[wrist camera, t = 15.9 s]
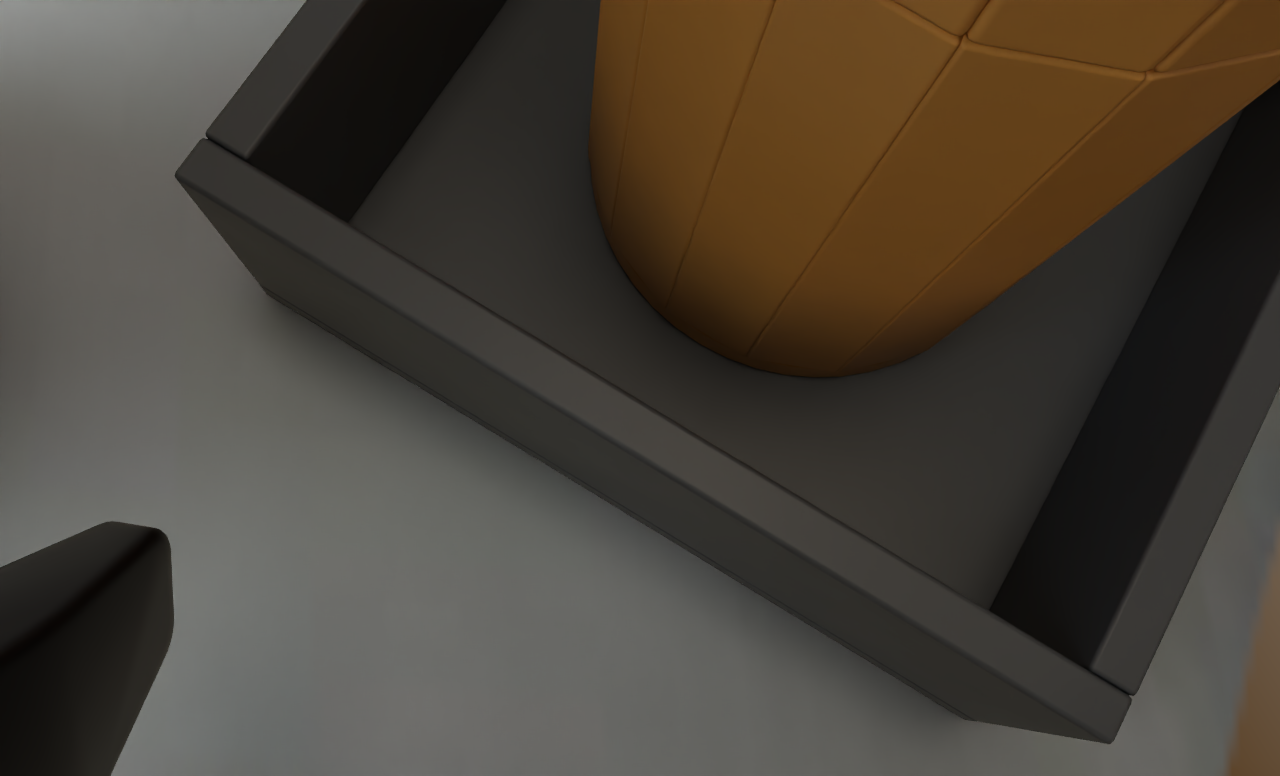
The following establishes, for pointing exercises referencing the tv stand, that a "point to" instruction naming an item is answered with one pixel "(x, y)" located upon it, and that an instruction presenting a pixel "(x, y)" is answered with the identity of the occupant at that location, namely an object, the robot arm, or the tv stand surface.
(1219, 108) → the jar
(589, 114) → the dark grey square tray
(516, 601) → the tv stand surface
